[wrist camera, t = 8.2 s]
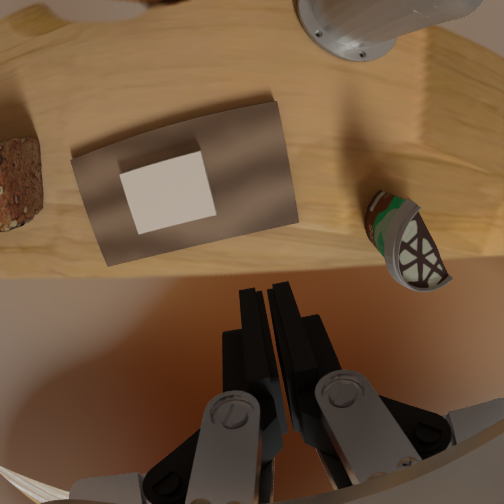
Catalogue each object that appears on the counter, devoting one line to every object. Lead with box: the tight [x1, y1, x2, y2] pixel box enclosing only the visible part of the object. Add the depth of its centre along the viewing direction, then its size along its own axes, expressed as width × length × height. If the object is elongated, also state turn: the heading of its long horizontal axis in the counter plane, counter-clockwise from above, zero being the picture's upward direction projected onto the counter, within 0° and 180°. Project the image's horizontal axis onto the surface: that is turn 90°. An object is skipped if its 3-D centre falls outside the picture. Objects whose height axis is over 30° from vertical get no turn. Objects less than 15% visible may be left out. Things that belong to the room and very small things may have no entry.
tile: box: [120, 150, 217, 234], centre depth 32 cm, size 7×2×9 cm
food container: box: [365, 190, 453, 292], centre depth 33 cm, size 12×6×10 cm, turn 41°
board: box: [70, 101, 299, 267], centre depth 33 cm, size 14×24×1 cm, turn 102°
